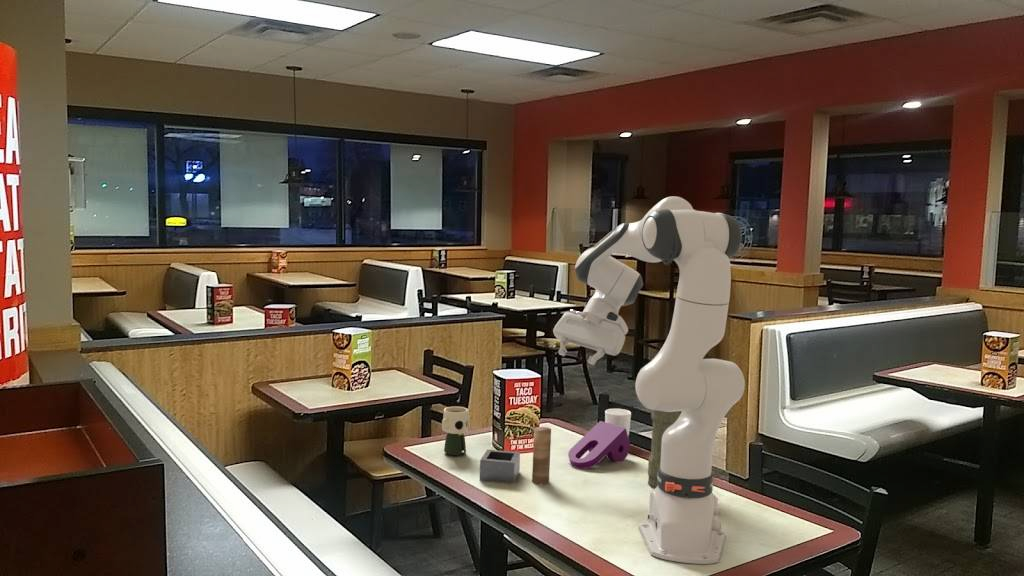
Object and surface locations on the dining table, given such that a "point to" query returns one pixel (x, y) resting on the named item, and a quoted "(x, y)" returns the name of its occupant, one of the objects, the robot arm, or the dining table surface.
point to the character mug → (455, 429)
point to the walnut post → (541, 455)
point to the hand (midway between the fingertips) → (575, 358)
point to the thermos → (658, 441)
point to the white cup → (618, 418)
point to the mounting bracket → (600, 445)
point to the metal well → (500, 466)
